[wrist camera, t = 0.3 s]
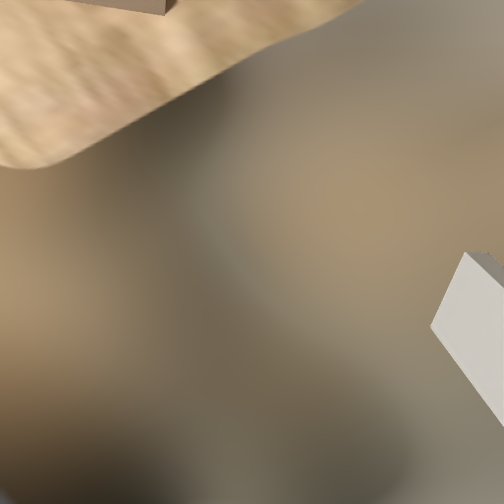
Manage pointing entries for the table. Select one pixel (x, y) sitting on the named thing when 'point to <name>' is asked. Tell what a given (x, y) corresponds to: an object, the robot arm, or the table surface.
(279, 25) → the table surface
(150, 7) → the board
